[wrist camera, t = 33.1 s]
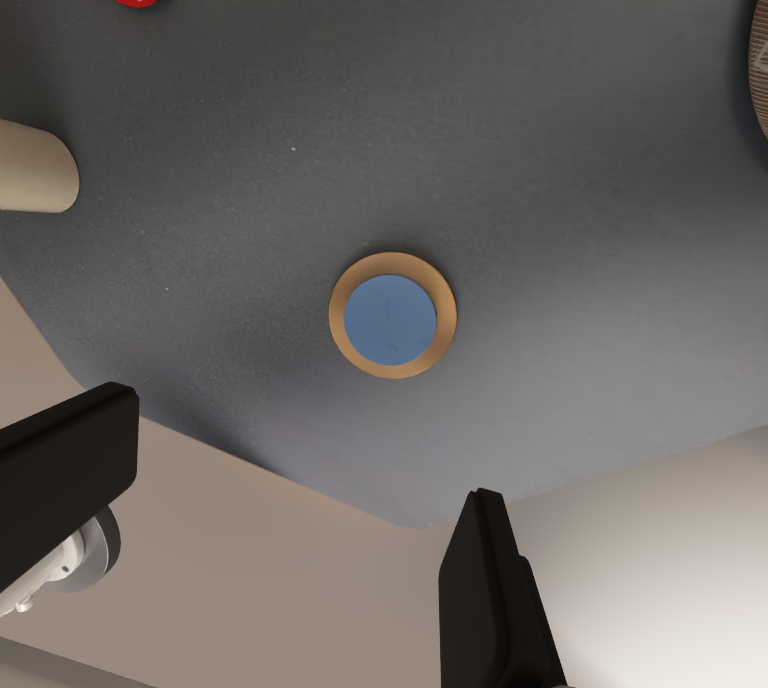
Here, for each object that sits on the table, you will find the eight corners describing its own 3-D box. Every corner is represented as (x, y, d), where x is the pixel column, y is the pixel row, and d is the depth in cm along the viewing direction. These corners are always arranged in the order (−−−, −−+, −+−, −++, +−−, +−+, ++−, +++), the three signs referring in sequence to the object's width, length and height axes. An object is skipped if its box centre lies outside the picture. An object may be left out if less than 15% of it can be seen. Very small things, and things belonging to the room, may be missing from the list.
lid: (422, 370, 29) (421, 377, 27) (339, 346, 29) (334, 352, 28) (448, 286, 26) (449, 289, 25) (358, 261, 27) (354, 262, 25)
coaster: (435, 390, 30) (435, 393, 29) (320, 357, 30) (317, 359, 30) (473, 270, 26) (474, 271, 26) (344, 236, 27) (342, 236, 26)
